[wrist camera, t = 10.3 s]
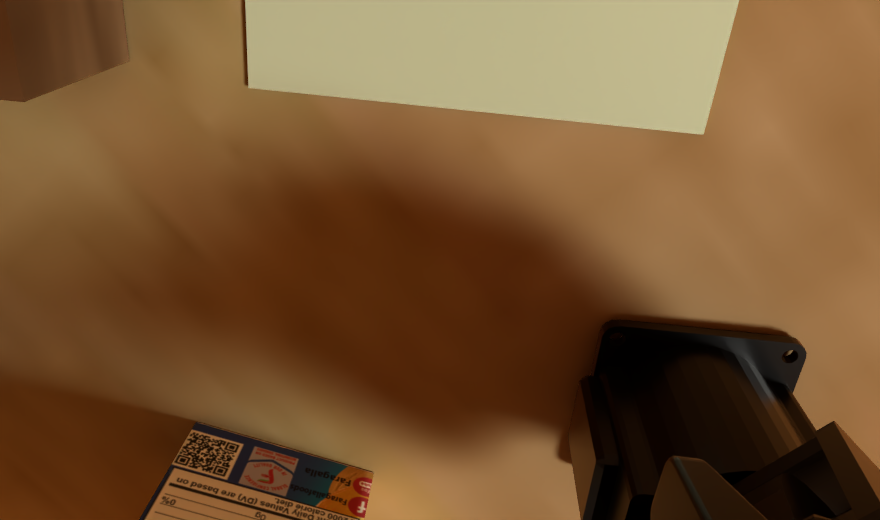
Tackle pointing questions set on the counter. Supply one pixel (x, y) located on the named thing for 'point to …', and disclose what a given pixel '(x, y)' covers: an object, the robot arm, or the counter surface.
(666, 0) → the lid
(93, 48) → the box
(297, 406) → the counter surface
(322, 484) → the beverage box
